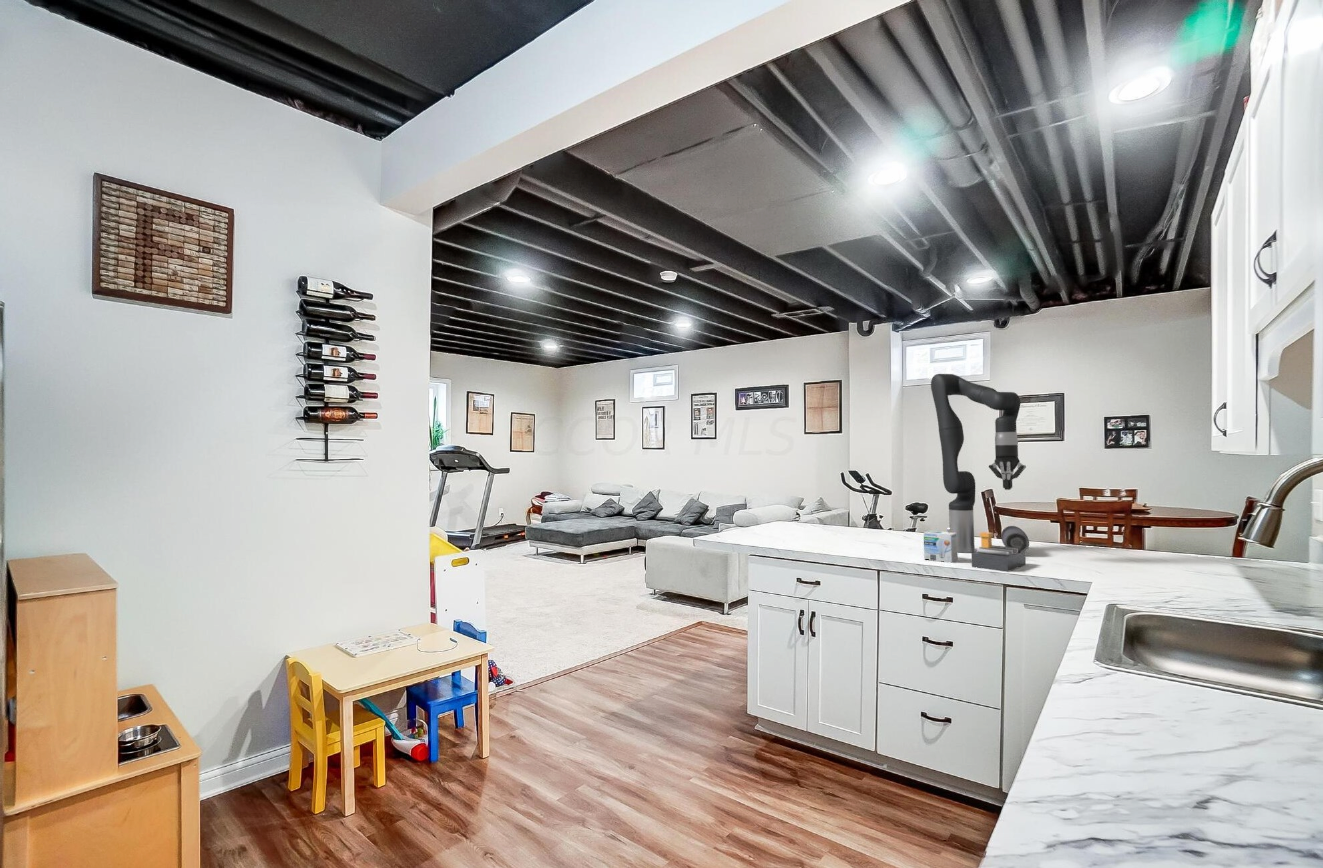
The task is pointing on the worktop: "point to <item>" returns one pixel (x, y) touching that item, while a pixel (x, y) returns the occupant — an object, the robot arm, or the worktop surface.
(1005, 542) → the bluetooth speaker
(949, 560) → the light bulb box
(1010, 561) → the breaker box
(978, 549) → the dressed cables
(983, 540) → the breaker handle
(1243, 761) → the worktop surface
